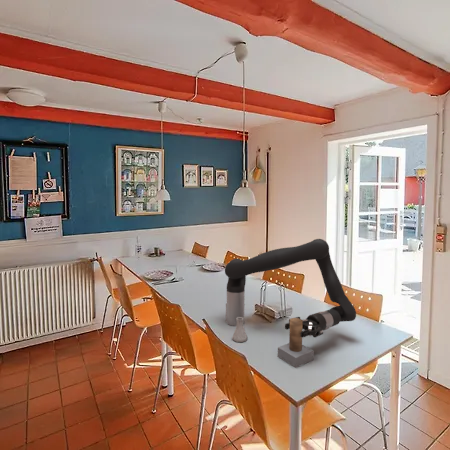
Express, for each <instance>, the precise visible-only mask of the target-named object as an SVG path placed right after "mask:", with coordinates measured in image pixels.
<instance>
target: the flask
mask: <svg viewBox="0 0 450 450" xmlns="http://www.w3.org/2000/svg"><path fill="white" fill-rule="evenodd" d="M236 320H237V325H236V326H235V328H234V332H233V335H232V337H231V340H232V341H233V342H235V343H245V342H247V341H248V338H249V337H248V335H247V332H246V329H245V327H244V324H243V318H242V317H237V318H236Z"/></svg>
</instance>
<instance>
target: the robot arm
mask: <svg viewBox="0 0 450 450" xmlns="http://www.w3.org/2000/svg"><path fill="white" fill-rule="evenodd" d="M330 254H331V253H330V246H329V244H328V242H327V241H326V240H324V239H323V238H316V239H313V240H311V241H309V242H306V243H303V244H300V245H296V246H288V247H281V248H276V249H272V250H268V251H266V252H263V253H260V254H258V255H256V256H254V257H251V258H247V259H240V258H238V257H237V258H233V259H231V260H229V262H228V263H226V265H225V268H224V274H225V275H226V277H228V278H227V283H226V303H225V321H226V324H227V325H229V326H231V327H232V326H233V327H236V325H237V320H236V318H237V317H242V318H243V325H244V324H245V300H246V299H245V295H246V294H245V287H246V280H247V278H246V277H247V276H249V275H252V274H255V273H261V272H269V271H274V270H277V269H281V268H286V267H288V266H292V265H295V264H297V263H300V262H306V261H312V260H315V261H316V263H317V265H318V268H319V270H320V274H321V277H322V280H323V283H324V287H325V289H326V292H327V294H328V297H329V300H330V302H332V303H336V304H338V305H336V306H333V307H331V308H329V309H327V310H323V311H318V312H315V313H312V314H309V315H308V316H307V317H306V318H305V319H301V316H296V317H294V318H299V319H301V320H302V321H303V324H302V331H301V333H300V337H302V339H304V338H306V337H313V338H317V337H319V336H321V335H324V331H326V330H328V329H330V328H332V327H334V326H338V325H339V324H340V323H341V322H352V321H353V322H354V321H355V320H356V318H357V311H356V308H355V306H354V305H353V304H352V302H351V301H350V299H349V298H348V297H347V295H346V294H345V291H344V290H345V289H344V288H343V286H342V284H341V280H340V279H339V276H338V275H337V274H338V273H337V272H336V270H335V268H334V265H333V262H332V258H331V255H330ZM290 319H291V318H289V319H288V322H287V323H285V324H284V329H285V330H290Z"/></svg>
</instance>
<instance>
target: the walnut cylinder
mask: <svg viewBox="0 0 450 450" xmlns="http://www.w3.org/2000/svg"><path fill="white" fill-rule="evenodd" d="M289 319H290V329H289V342H288V343H289V349H290V350H291V351H294V352H300V351H301V350H302V345H303V338H302V337H300V333H301V331H303V329H302V324H303V321H302V320H303V319H301V318H300V319H299V318H295V317H292V318H289Z"/></svg>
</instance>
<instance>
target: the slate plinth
mask: <svg viewBox="0 0 450 450" xmlns="http://www.w3.org/2000/svg"><path fill="white" fill-rule="evenodd" d="M277 357H278V358H279V359H281V360H283V361H284V362H286V363H287V364H289V365H290V366H292V367H293V368H296V369H297V368H299V367H300V366H303V365H305V364H308V363H310V362H312V361H314V350H313V349H311V348H309V347H308V346H306V345H304V344H302V350H301V351H300V352H294V351H291V350H290V349H289V342H288V343H285V344H283V345H280V346H278V347H277Z"/></svg>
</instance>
